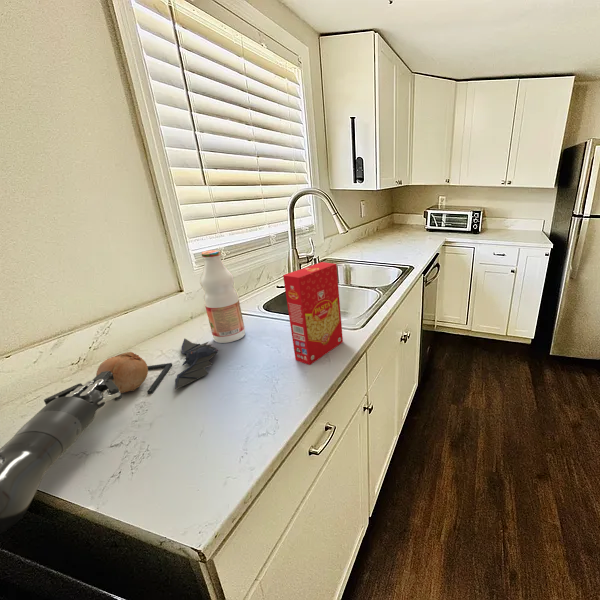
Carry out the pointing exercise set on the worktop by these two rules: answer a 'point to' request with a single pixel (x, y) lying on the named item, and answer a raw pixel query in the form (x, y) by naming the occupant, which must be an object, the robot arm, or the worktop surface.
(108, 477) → the worktop surface
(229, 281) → the fruit juice
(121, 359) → the onion
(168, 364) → the frame
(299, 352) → the food packaging
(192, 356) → the decorative bat
